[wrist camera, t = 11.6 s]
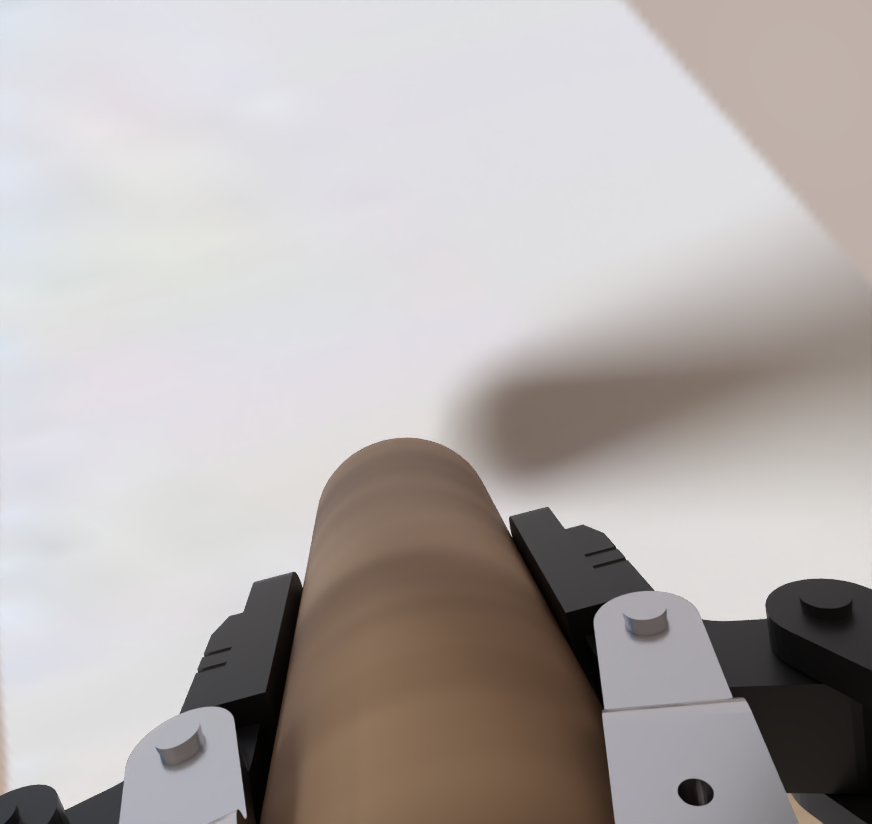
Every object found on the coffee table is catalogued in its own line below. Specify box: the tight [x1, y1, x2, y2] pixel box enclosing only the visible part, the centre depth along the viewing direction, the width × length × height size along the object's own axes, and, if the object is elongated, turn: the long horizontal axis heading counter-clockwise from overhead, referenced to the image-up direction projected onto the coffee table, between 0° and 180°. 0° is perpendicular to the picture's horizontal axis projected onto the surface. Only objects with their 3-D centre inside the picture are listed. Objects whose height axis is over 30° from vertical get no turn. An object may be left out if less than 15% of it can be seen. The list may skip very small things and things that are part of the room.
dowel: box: [260, 438, 615, 824], centre depth 10 cm, size 4×4×12 cm
